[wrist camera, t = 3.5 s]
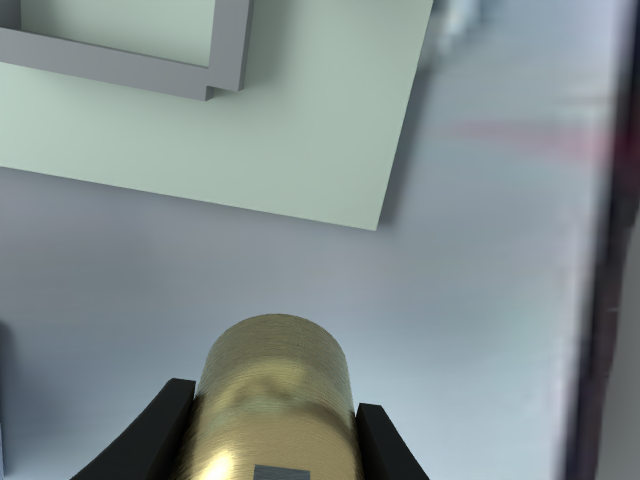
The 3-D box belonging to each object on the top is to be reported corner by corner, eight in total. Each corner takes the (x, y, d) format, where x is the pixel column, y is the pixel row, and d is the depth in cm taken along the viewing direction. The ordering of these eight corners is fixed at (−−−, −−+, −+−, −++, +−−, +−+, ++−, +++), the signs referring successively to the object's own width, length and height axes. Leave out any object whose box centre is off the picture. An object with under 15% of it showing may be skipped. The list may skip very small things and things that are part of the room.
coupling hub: (331, 442, 15) (351, 696, 9) (197, 425, 15) (124, 680, 9) (363, 322, 14) (412, 532, 8) (213, 300, 13) (138, 503, 7)
